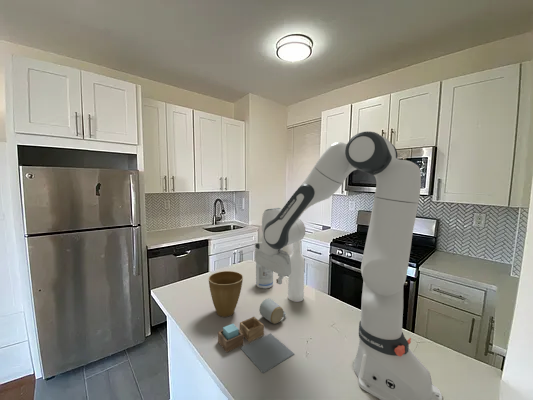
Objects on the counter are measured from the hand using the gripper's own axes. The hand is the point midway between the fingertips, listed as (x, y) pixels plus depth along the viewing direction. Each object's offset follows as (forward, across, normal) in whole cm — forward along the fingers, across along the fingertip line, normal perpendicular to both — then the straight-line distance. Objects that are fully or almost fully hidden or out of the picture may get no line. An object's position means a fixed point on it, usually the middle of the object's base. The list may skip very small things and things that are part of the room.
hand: (271, 279), depth 96 cm
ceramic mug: (+17, 0, -1) cm, 17 cm away
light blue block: (+17, -3, +21) cm, 27 cm away
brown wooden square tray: (+18, -3, +21) cm, 27 cm away
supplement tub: (+17, +28, -17) cm, 37 cm away
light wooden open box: (+17, -3, +12) cm, 21 cm away
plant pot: (+17, +16, +13) cm, 27 cm away
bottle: (+17, +7, -21) cm, 28 cm away
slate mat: (+17, -14, +13) cm, 26 cm away
